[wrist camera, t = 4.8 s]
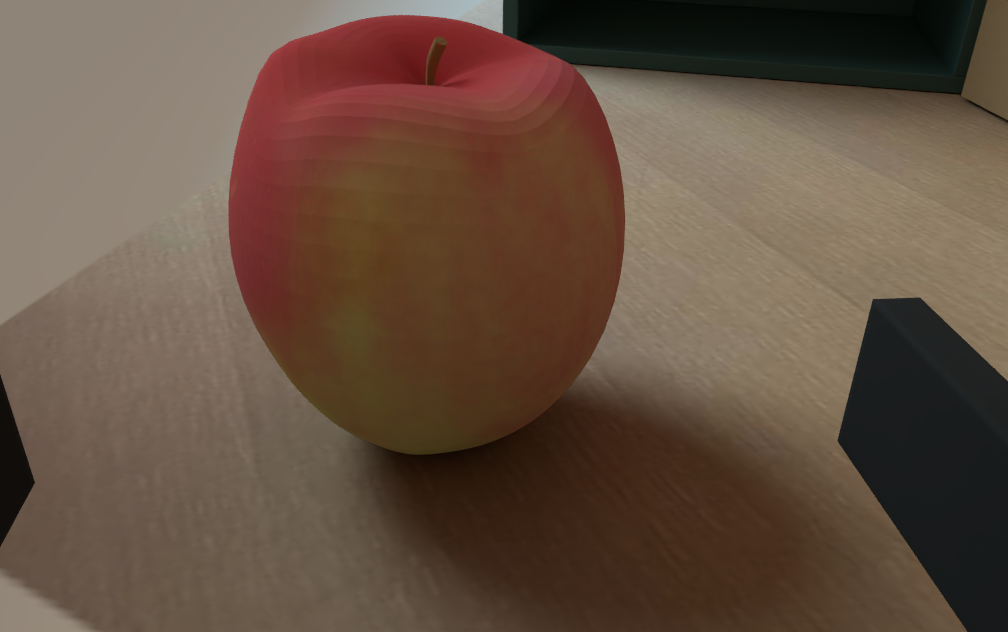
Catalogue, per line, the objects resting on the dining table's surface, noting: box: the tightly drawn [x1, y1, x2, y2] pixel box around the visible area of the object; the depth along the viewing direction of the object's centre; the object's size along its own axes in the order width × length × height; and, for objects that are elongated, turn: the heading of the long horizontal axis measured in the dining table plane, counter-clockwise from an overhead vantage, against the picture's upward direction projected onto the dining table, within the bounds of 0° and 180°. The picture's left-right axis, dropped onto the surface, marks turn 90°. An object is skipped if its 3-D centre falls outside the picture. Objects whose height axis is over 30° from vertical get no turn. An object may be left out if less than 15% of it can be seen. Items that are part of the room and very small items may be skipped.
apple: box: [229, 15, 625, 455], centre depth 22 cm, size 10×10×10 cm
